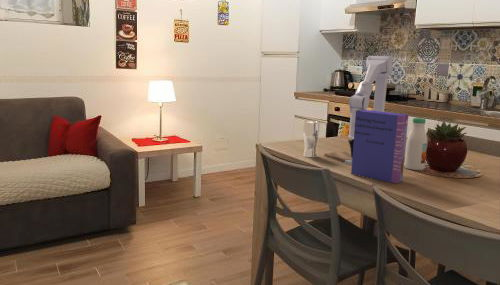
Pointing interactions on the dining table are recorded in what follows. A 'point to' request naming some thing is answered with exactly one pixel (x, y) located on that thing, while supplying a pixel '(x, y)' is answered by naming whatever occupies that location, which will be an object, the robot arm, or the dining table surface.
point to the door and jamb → (341, 156)
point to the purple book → (379, 145)
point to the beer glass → (311, 138)
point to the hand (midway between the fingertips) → (354, 157)
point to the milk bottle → (416, 146)
